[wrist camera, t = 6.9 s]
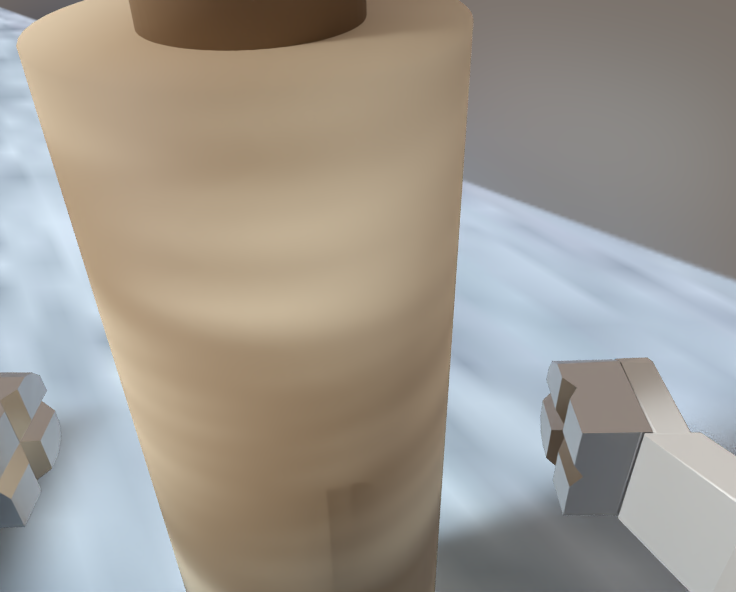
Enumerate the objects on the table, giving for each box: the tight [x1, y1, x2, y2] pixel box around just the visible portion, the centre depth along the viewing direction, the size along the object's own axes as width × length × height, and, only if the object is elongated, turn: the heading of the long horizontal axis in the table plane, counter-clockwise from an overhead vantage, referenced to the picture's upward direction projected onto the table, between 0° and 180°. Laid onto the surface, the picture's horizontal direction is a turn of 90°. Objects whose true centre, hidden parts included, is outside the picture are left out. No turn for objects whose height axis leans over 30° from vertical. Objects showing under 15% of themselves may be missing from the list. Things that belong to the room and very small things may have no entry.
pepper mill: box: [16, 0, 473, 592], centre depth 11 cm, size 5×5×16 cm
